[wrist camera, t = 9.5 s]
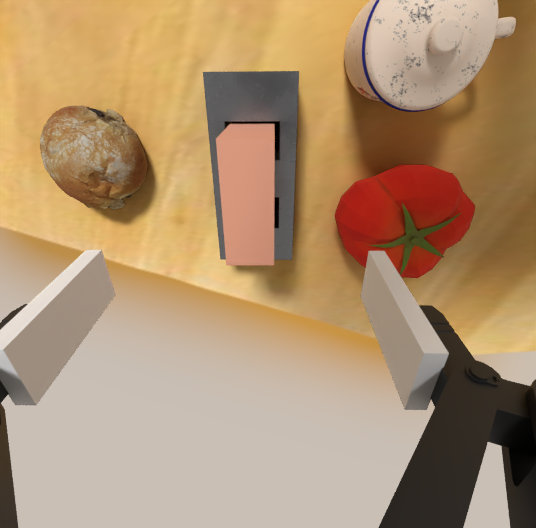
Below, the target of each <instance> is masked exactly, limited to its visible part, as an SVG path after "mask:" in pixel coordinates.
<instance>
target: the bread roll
mask: <svg viewBox="0 0 536 528" xmlns="http://www.w3.org/2000/svg"><path fill="white" fill-rule="evenodd" d="M40 149H41V156H42V159H43V163H44V166H45V168H46V170H47V171H48V173H49V174H50V176H51V177H52V178H53V180H54V181H55V182H56V184H57V185H58V186H59V187H60V188H61V189H62V190H63V191H64V192H65V193H66V194H68V195H69V196H71V197H73V198H75V199H77V200H79V201H80V202H82V203H84V204H85V205H86V206H87V207H88V208H90V207H92V208H100V209H106V208H107V207H110V208H111V209H118V208H123V207H124V206H125V205H126V203H124V201H123V198H124V197H125V198H127V197H131V195H132V194H133V192H135V191H137V190H139V187H140V186H141V185H142V183H143V181H144V180H145V177H146V173H147V165H148V162H147V160H146V156H145V151H144V150H143V148H142V146H141V143H140V141H139V138H138V136H137V135H136V133H135V131H134V130H133V129H131V128H130V127H129V126H128V125H127V124H126V123H125V122H123V117H122V116H120V115H119V114H118V113H116V112H115V111H113V110H109V109H107V113H106V112H104V111H101V110H96V109H93V108H89V107H85V106H68V107H64V108H62V109H60V110H58V111H56V112H55V113H54V114H53V115H52V116H51V117H50V118H49V119H48V121H47V123H46V124H45V126H44V128H43V131H42V134H41V138H40Z"/></svg>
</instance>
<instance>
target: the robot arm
mask: <svg viewBox="0 0 536 528" xmlns="http://www.w3.org/2000/svg"><path fill="white" fill-rule="evenodd" d="M114 297H115V292H114V288H113V285H112V282H111V279H110V275H109V272H108V269H107V266H106V263H105V259H104V256H103V253H102V250H86V251H85V252H84V253H82V255H81V256H79V257H78V258H77V259H76V260H75V261H74V262H73V263H72V264H71V265H70V266H69V267H68V268H66V269H65V270H64V271H63V272H62V273H61V274H60V275H59V276H58V277H57V278H56V279H54V280H53V281H52V282H51V283H50V284H49V285H48V286H47V287H46V288H45V289H44V290H43V291H42V292H40V293H39V294H38V295H37V296H36V297H35V298H34V299H33V300H32V301H31V302H30V303H29V304H25V305H23V306H21V307H19V308H17V309H16V310H14V311H12V312H11V313H10V314H9V315H8V316H7V317H5V318H4V319H3V320H2V322H1V323H0V528H18V521H17V513H16V504H15V495H14V487H13V478H12V470H11V460H10V452H9V443H8V434H7V426H6V417H5V409H4V408H3V406H2V404H1V402H2V401H3V400H4V398H5V397H6V396H7V395H9V396H10V398H11V399H12V401H13V402H14V404H15V405H37V403H38V402H39V401H40V399H41V398H42V396H43V395H44V394H45V392H46V391H47V389H48V388H49V387H50V385H51V384H52V382H53V381H54V380H55V378H56V377H57V376H58V374H59V373H60V371H61V370H62V369H63V367H64V366H65V365H66V363H67V362H68V360H69V359H70V358H71V356H72V355H73V353H74V352H75V351H76V349H77V348H78V347H79V345H80V344H81V342H82V341H83V340H84V338H85V337H86V336H87V334H88V333H89V331H90V330H91V329H92V327H93V325H94V324H95V323H96V321H97V320H98V319H99V317H100V316H101V315H102V313H103V312H104V311H105V309H106V308H107V306H108V305H109V304H110V302H111V301H112V300H113V298H114ZM361 299H362V301H363V304H364V306H365V309H366V312H367V314H368V317H369V319H370V322H371V324H372V327H373V330H374V332H375V335H376V337H377V340H378V342H379V345H380V347H381V350H382V353H383V355H384V357H385V360H386V363H387V365H388V368H389V371H390V373H391V375H392V378H393V381H394V383H395V386H396V388H397V391H398V394H399V396H400V399H401V401H402V404H403V406H404V409H405V410H427V408H428V405H429V403H430V400H431V399H432V402H433V404H434V406H435V409H434V411H433V414H432V416H431V418H430V420H429V422H428V424H427V426H426V428H425V430H424V433H423V435H422V437H421V439H420V441H419V443H418V445H417V448H416V450H415V452H414V454H413V456H412V458H411V460H410V462H409V464H408V466H407V469H406V471H405V473H404V475H403V477H402V479H401V481H400V483H399V486H398V488H397V490H396V492H395V494H394V496H393V498H392V500H391V502H390V505H389V507H388V509H387V511H386V513H385V515H384V517H383V519H382V522H381V524H380V526H379V528H463V526H464V523H465V519H466V516H467V512H468V509H469V505H470V501H471V498H472V494H473V491H474V488H475V484H476V481H477V477H478V474H479V470H480V466H481V463H482V460H483V456H484V452H485V449H486V446H487V442H491V443H494V444H498V445H501V446H502V455H503V463H504V473H505V482H506V491H507V500H508V509H509V519H510V528H536V380H535V381H533V383H532V385H531V386H527V385H523V384H519V383H515V382H511V381H507V380H504V379H502V378H501V377H500V375H499V374H498V373H497V372H496V371H495V370H494V369H493V368H491V367H489V366H488V365H486V364H484V363H482V362H479V361H476V360H475V359H474V358H473V356H472V355H471V354H470V352H469V351H468V349H467V348H466V347H465V345H464V344H463V342H462V341H461V339H460V338H459V337H458V335H457V334H456V333H455V332H454V329H453V328H452V327H451V325H449V322H448V321H447V320H446V318H445V317H444V315H443V314H442V313H441V312H439V311H438V310H437V309H435V308H434V307H433V306H421V305H418V303H417V302H416V300H415V299H414V297H413V295H412V294H411V292H410V291H409V289H408V287H407V286H406V284H405V283H404V281H403V279H402V278H401V276H400V275H399V273H398V271H397V270H396V268H395V267H394V265H393V263H392V262H391V260H390V259H389V257H388V256H387V254H386V252H385V251H369V252H368V258H367V263H366V269H365V275H364V280H363V286H362V292H361Z"/></svg>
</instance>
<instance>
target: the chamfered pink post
mask: <svg viewBox="0 0 536 528" xmlns="http://www.w3.org/2000/svg"><path fill="white" fill-rule="evenodd" d="M216 146H217V158H218V170H219V182H220V194H221V206H222V218H223V230H224V242H225V254H226V265H274V171H275V128H274V124H229V125H228V126H227V128H226V129H225V130H224V131H223V132H222V133H221V134H220V135H219V136H218V137H217V138H216Z"/></svg>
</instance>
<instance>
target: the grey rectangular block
mask: <svg viewBox="0 0 536 528" xmlns="http://www.w3.org/2000/svg"><path fill="white" fill-rule="evenodd" d="M203 77H204V88H205V99H206V109H207V120H208V131H209V141H210V152H211V163H212V173H213V184H214V195H215V205H216V216H217V227H218V237H219V248H220V259H226V254H225V242H224V230H223V218H222V206H221V194H220V182H219V170H218V158H217V146H216V138H217V137H218V136H219V135H220V134H221V133H222V132H223V131H224V130H225V129H226V128H227V126H228V125H229V124H231V121H279V150H275V171H274V197H278V211H274V260H292V245H293V218H294V191H295V164H296V137H297V110H298V83H299V71H273V72H203Z"/></svg>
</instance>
